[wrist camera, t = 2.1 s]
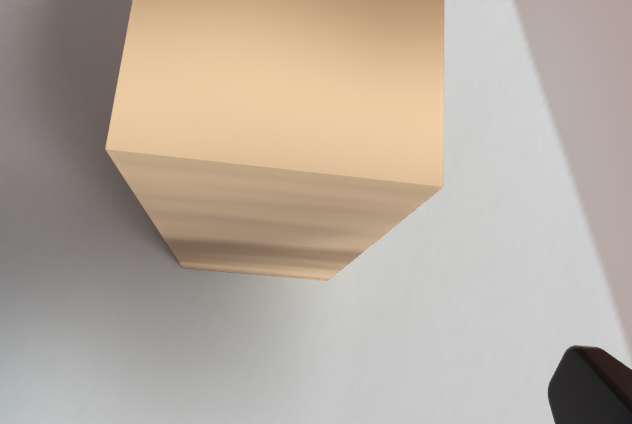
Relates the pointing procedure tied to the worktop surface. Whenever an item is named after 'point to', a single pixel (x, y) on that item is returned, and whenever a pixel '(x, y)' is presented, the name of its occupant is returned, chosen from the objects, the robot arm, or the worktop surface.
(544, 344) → the worktop surface
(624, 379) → the robot arm
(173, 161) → the oak block
